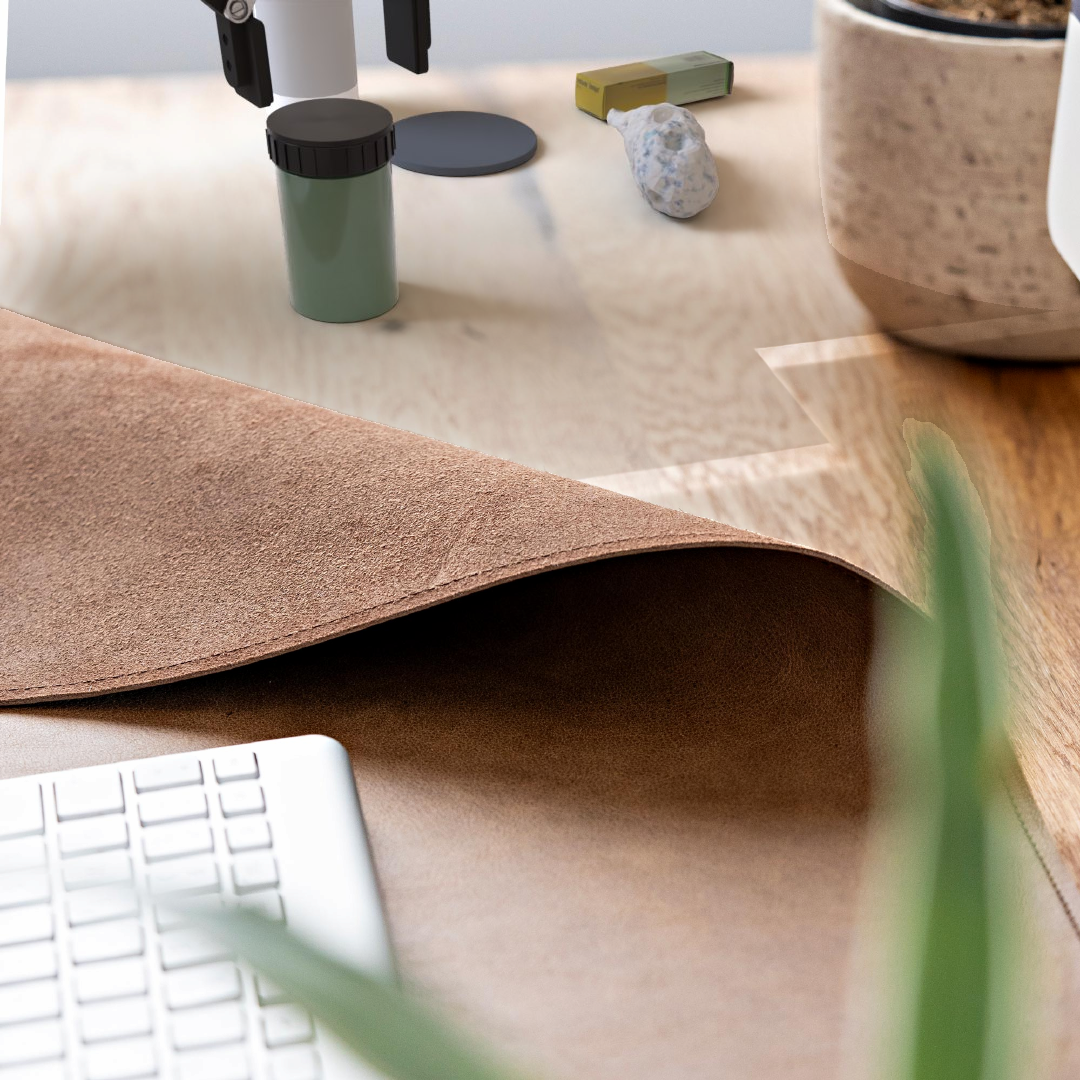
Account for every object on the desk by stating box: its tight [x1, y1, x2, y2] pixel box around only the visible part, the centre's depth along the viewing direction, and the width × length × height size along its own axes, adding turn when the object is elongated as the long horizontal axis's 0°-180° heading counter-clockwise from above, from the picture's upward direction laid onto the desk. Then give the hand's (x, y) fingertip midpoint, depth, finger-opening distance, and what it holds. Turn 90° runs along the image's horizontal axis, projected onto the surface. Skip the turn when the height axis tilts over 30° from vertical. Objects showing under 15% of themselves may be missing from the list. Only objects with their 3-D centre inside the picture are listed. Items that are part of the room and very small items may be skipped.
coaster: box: [391, 110, 538, 177], centre depth 90 cm, size 11×11×1 cm
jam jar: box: [274, 159, 400, 323], centre depth 68 cm, size 6×6×10 cm
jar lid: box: [264, 98, 396, 177], centre depth 66 cm, size 6×6×2 cm
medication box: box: [574, 50, 735, 121], centre depth 97 cm, size 12×3×4 cm
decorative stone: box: [606, 103, 720, 219], centre depth 83 cm, size 13×7×5 cm, turn 12°
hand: (333, 81), depth 64 cm, fingers open, 8 cm apart
